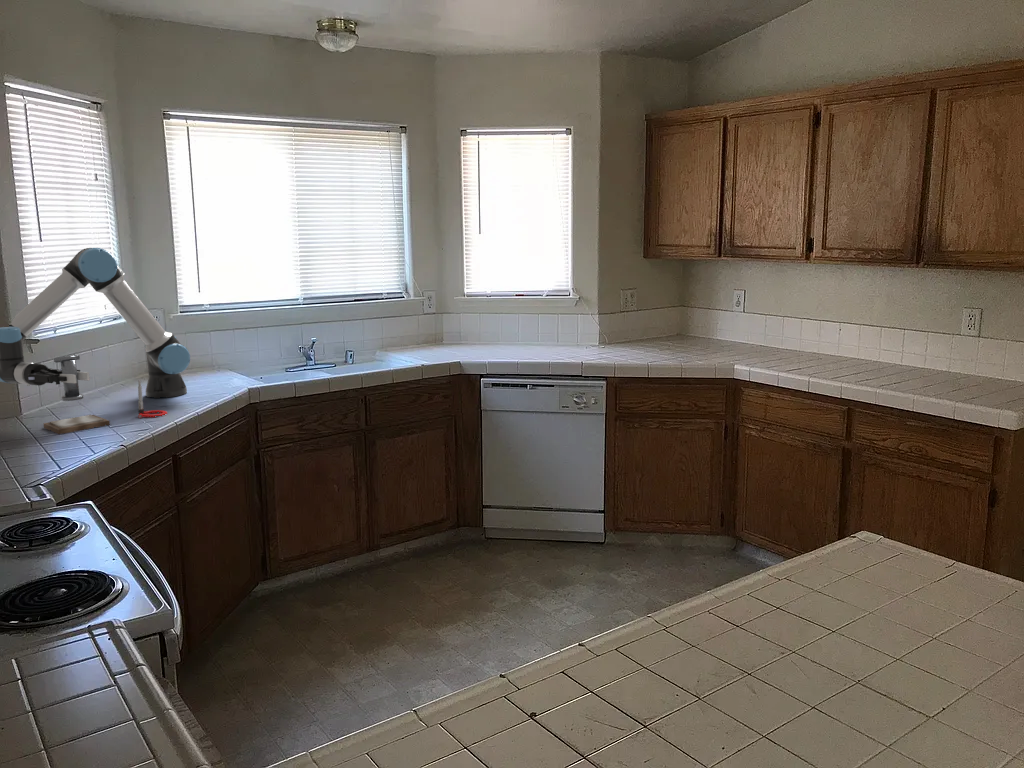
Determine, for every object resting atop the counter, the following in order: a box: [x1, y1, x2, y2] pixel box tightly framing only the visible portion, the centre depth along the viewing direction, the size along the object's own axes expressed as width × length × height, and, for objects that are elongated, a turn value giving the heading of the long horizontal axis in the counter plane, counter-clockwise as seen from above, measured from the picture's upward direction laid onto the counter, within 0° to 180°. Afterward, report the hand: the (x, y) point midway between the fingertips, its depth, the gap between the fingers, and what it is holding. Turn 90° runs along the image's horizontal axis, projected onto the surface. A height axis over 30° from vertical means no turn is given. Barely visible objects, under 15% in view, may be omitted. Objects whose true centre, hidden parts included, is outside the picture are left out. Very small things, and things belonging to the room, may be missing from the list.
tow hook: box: [137, 379, 168, 419], centre depth 292 cm, size 8×13×9 cm
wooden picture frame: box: [42, 414, 111, 435], centre depth 278 cm, size 16×14×2 cm
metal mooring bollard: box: [53, 354, 84, 402], centre depth 275 cm, size 8×6×14 cm
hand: (81, 377), depth 273 cm, fingers closed on metal mooring bollard, 4 cm apart
